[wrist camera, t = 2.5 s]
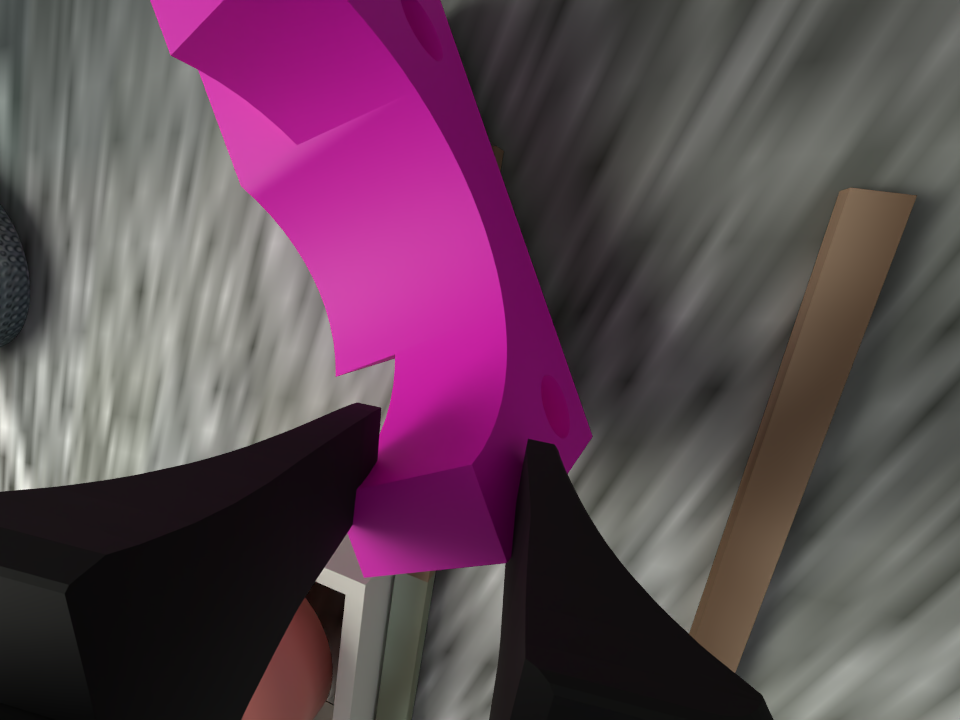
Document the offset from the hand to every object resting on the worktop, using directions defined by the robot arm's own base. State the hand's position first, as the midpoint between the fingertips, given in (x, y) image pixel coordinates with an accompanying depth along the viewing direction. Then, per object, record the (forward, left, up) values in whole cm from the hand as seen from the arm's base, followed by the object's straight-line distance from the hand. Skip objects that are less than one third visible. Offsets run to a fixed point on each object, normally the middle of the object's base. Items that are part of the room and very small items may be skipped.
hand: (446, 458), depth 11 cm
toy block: (+4, -4, -6) cm, 8 cm away
